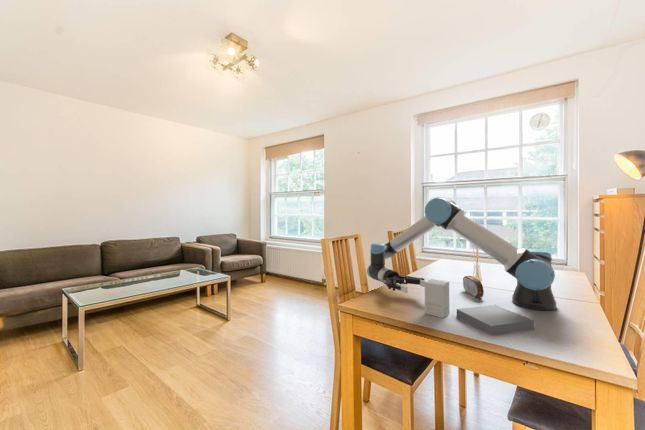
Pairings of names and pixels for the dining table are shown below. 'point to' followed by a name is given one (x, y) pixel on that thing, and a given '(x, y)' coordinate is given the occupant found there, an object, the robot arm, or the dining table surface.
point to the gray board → (495, 319)
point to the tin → (473, 286)
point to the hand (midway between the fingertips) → (419, 288)
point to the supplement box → (437, 298)
